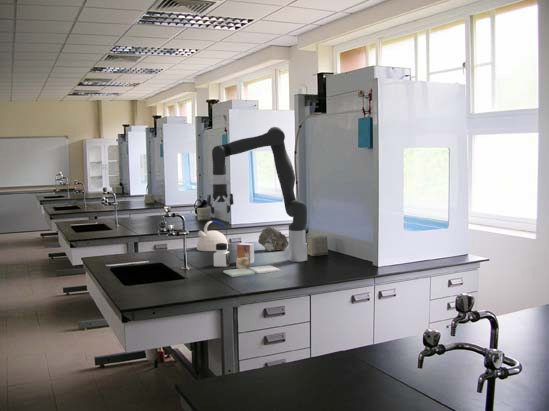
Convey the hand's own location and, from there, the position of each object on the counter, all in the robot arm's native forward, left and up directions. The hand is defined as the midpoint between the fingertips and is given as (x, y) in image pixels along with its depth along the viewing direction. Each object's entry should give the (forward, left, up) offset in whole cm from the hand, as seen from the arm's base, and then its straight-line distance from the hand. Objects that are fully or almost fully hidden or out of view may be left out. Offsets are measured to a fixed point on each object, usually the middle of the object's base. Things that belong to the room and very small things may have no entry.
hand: (220, 213), depth 298 cm
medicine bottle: (0, 0, -28) cm, 28 cm away
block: (-7, +12, -28) cm, 32 cm away
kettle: (-14, -55, -28) cm, 63 cm away
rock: (-45, -28, -28) cm, 60 cm away
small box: (-14, 0, -28) cm, 32 cm away
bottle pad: (0, +24, -28) cm, 37 cm away
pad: (-14, +24, -28) cm, 40 cm away
